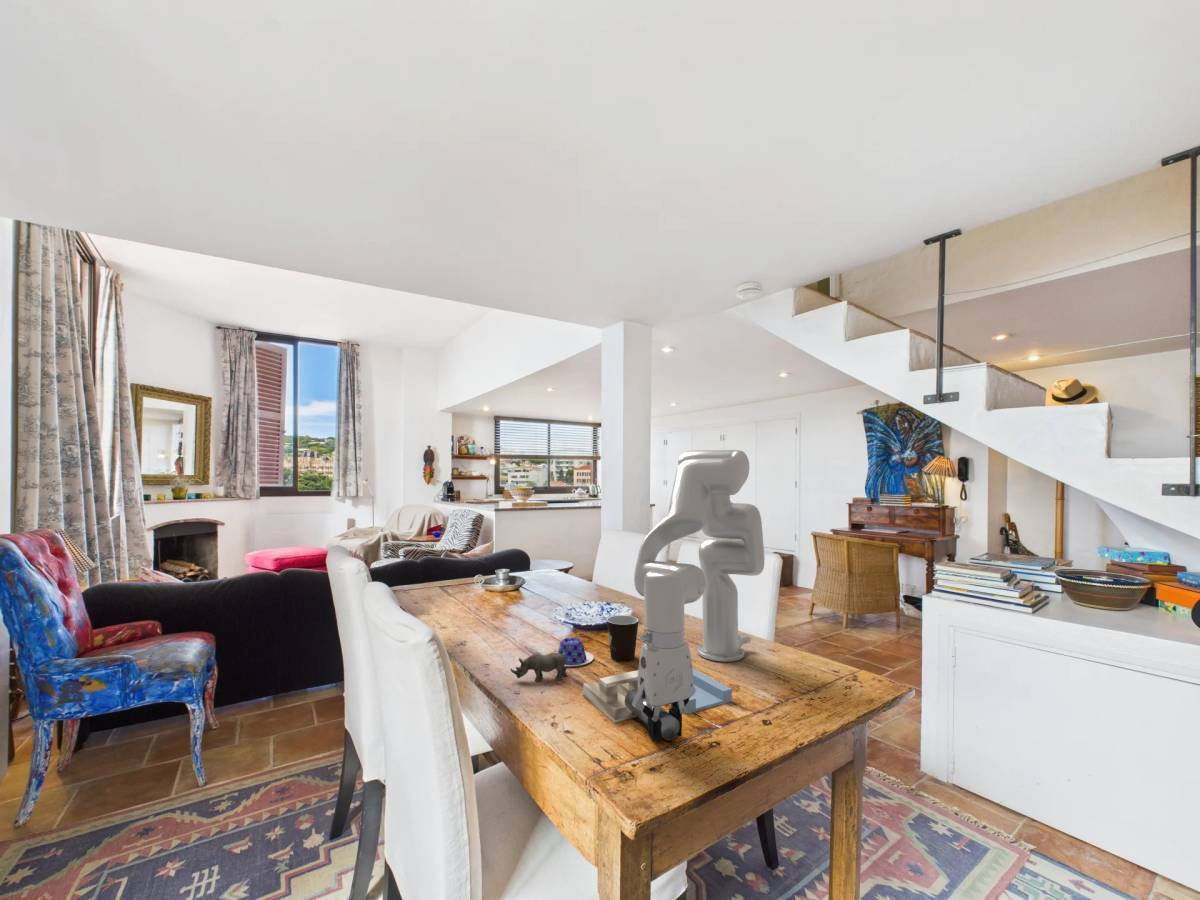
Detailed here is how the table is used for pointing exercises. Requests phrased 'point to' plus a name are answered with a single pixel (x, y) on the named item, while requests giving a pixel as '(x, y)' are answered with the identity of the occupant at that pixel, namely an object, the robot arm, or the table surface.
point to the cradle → (707, 693)
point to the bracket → (612, 694)
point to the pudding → (574, 652)
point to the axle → (667, 720)
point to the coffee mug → (622, 637)
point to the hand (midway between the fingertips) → (665, 735)
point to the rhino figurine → (542, 665)
